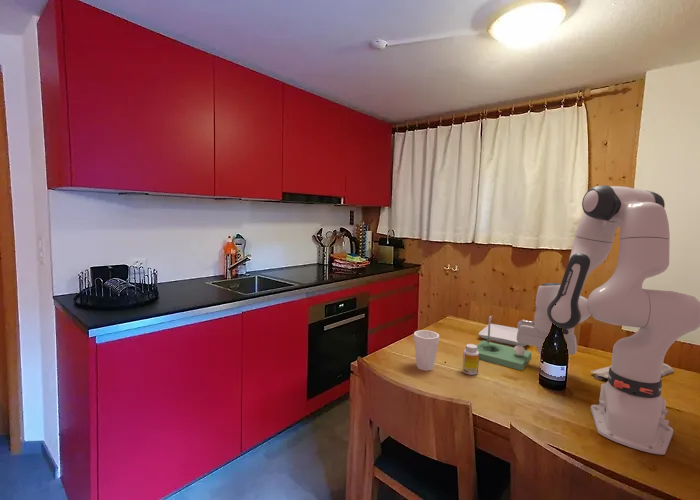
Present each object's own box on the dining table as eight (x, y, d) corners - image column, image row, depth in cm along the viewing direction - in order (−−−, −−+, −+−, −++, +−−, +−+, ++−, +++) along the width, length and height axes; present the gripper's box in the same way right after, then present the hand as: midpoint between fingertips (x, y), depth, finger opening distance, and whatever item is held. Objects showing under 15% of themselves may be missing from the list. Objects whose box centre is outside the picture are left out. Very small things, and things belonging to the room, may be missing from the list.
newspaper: (625, 392, 120) (626, 382, 120) (587, 376, 131) (588, 367, 131) (675, 372, 136) (676, 364, 135) (637, 360, 147) (638, 352, 146)
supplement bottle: (480, 375, 129) (482, 348, 128) (465, 375, 129) (467, 348, 128) (474, 368, 135) (476, 343, 134) (460, 368, 135) (461, 342, 134)
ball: (523, 358, 139) (524, 348, 138) (512, 356, 141) (512, 345, 141) (525, 355, 142) (526, 345, 142) (514, 352, 145) (515, 343, 144)
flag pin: (488, 343, 155) (490, 316, 154) (487, 342, 155) (488, 316, 154) (491, 340, 158) (493, 314, 156) (489, 340, 158) (491, 314, 157)
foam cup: (432, 374, 129) (434, 340, 128) (409, 368, 134) (410, 335, 133) (440, 365, 137) (442, 333, 136) (418, 359, 142) (419, 328, 141)
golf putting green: (522, 370, 134) (522, 364, 134) (469, 356, 146) (470, 350, 146) (531, 357, 146) (531, 351, 146) (482, 345, 159) (482, 340, 158)
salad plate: (489, 328, 183) (489, 322, 183) (534, 338, 171) (535, 331, 170) (477, 340, 166) (477, 333, 166) (526, 351, 154) (527, 344, 153)
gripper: (515, 320, 139) (513, 354, 140) (577, 332, 126) (573, 369, 128) (519, 316, 144) (517, 349, 145) (579, 327, 131) (575, 363, 133)
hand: (544, 358), depth 136 cm, fingers closed
